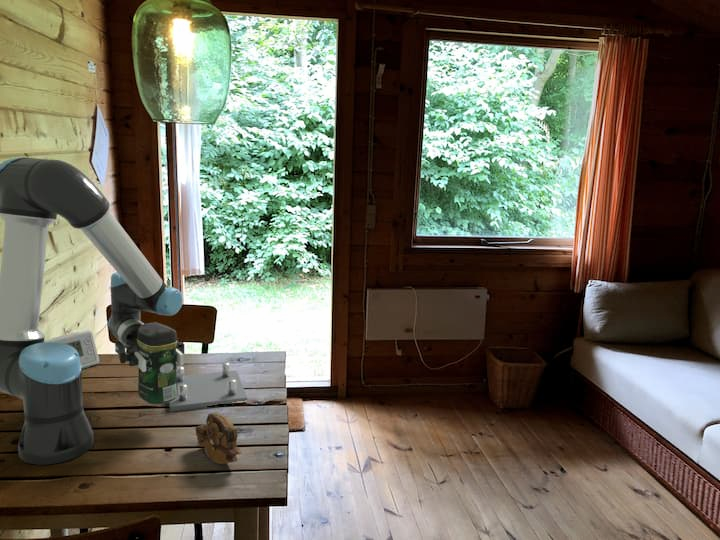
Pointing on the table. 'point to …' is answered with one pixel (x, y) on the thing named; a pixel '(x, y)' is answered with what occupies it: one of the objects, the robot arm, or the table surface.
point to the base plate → (207, 389)
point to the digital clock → (81, 346)
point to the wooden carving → (218, 439)
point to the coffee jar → (157, 363)
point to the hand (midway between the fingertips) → (163, 362)
